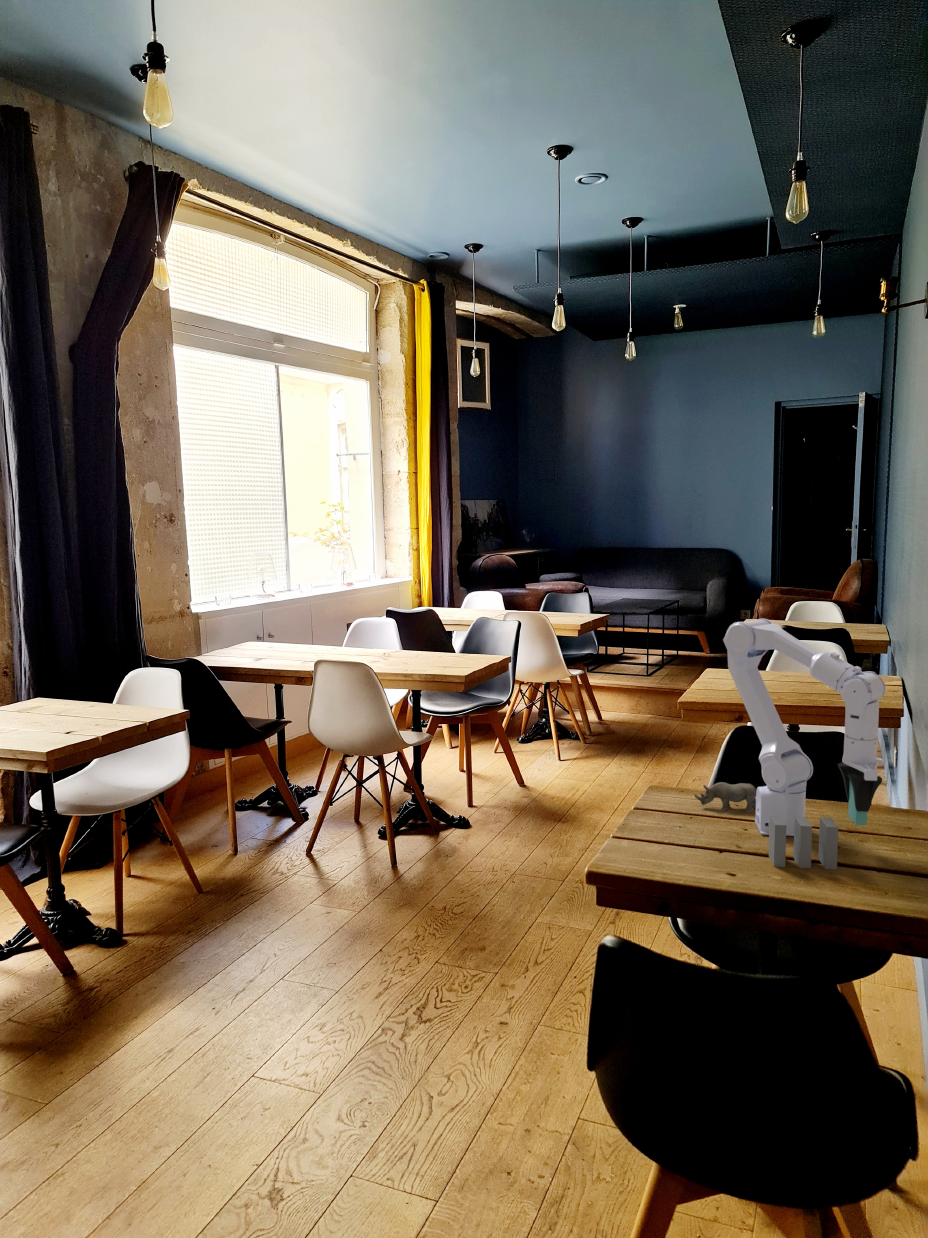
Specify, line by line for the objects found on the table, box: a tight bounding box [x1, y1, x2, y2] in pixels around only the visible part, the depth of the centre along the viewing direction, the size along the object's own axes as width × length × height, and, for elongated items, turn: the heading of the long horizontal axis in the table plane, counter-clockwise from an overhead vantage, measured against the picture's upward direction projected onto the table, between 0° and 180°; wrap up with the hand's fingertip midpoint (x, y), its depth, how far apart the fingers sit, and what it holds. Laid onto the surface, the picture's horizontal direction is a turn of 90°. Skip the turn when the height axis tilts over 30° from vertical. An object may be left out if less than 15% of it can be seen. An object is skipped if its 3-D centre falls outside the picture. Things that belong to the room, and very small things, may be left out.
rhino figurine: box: [694, 781, 757, 813], centre depth 189 cm, size 4×14×6 cm, turn 81°
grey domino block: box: [817, 816, 839, 870], centre depth 158 cm, size 2×5×8 cm, turn 171°
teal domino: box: [847, 781, 868, 826], centre depth 163 cm, size 2×5×8 cm, turn 171°
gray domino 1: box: [768, 816, 787, 868], centre depth 160 cm, size 2×5×8 cm, turn 171°
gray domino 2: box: [793, 816, 813, 869], centre depth 159 cm, size 2×5×8 cm, turn 171°
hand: (857, 806), depth 163 cm, fingers closed on teal domino, 5 cm apart
